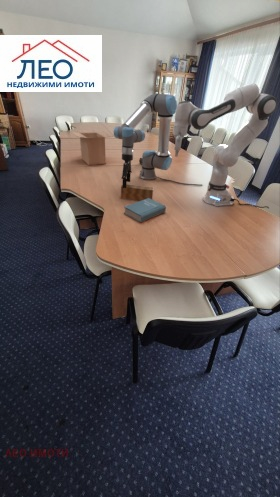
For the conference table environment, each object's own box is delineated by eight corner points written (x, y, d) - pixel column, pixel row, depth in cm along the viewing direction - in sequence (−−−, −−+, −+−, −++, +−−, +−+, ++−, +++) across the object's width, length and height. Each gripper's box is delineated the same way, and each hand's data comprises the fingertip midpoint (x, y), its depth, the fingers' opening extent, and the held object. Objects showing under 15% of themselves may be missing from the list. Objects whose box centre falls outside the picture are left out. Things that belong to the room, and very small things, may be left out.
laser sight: (158, 167, 233) (159, 157, 227) (138, 164, 236) (138, 154, 230) (160, 164, 241) (161, 155, 235) (140, 162, 244) (140, 152, 238)
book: (148, 204, 158) (148, 197, 155) (165, 212, 149) (166, 206, 146) (124, 213, 145) (124, 206, 142) (141, 223, 136) (141, 216, 133)
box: (116, 165, 229) (116, 136, 213) (83, 168, 214) (80, 137, 198) (102, 154, 259) (101, 128, 243) (71, 156, 244) (68, 129, 228)
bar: (120, 198, 165) (121, 186, 159) (122, 195, 169) (122, 183, 163) (151, 202, 162) (152, 190, 157) (152, 199, 167) (153, 187, 161)
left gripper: (129, 158, 137) (127, 191, 150) (136, 150, 157) (134, 179, 170) (117, 157, 138) (117, 190, 150) (125, 149, 158) (125, 178, 170)
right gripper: (185, 134, 131) (181, 159, 139) (184, 129, 147) (181, 151, 155) (174, 133, 131) (171, 158, 139) (175, 128, 148) (172, 150, 156)
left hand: (126, 184), depth 160 cm, fingers open, 13 cm apart
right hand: (176, 154), depth 147 cm, fingers open, 8 cm apart
